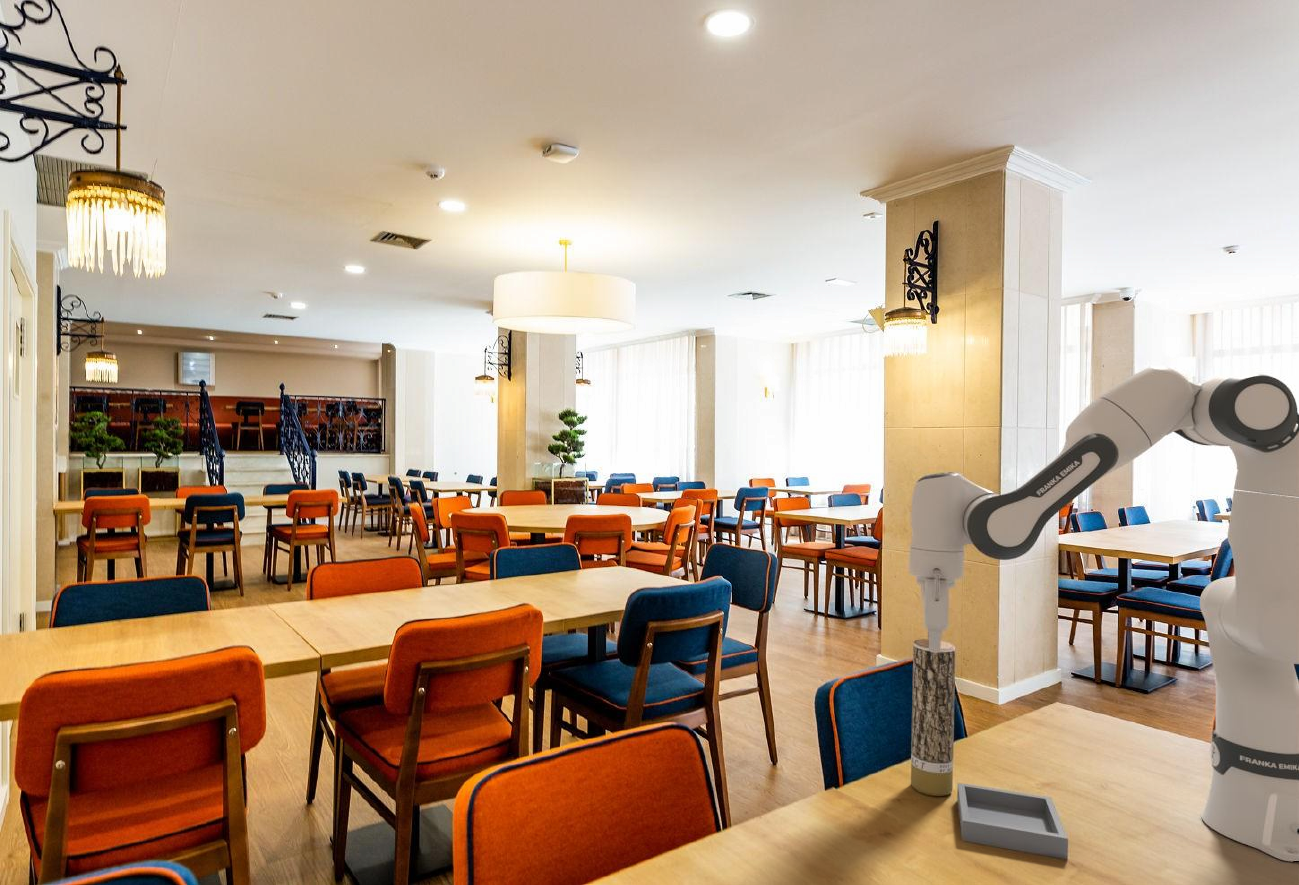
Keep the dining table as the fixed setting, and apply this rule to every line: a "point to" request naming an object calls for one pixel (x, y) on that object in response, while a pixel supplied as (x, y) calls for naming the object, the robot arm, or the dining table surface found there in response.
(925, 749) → the paper tube
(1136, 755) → the dining table surface
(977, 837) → the tray
